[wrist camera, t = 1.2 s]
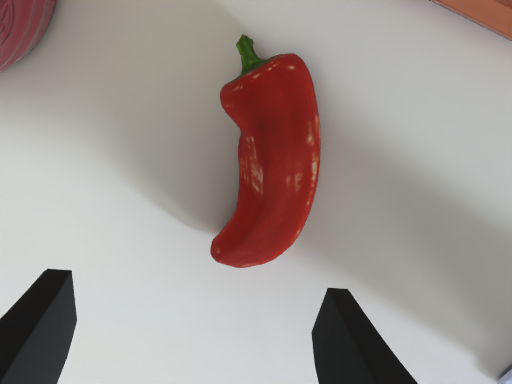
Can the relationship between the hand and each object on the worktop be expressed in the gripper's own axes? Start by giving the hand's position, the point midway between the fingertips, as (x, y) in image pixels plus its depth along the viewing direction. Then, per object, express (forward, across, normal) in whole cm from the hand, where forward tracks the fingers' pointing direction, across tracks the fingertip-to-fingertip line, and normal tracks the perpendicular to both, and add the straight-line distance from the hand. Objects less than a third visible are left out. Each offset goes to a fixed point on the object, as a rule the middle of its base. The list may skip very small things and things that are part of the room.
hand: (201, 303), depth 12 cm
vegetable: (+10, -3, +1) cm, 11 cm away
